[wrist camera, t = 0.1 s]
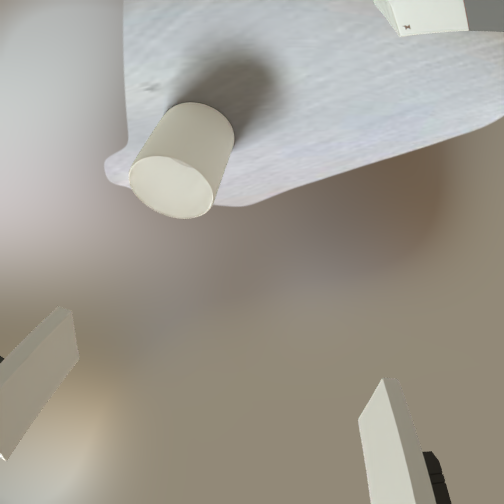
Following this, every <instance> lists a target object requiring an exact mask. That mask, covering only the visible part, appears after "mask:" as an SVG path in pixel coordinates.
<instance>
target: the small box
mask: <svg viewBox="0 0 504 504" xmlns="http://www.w3.org/2000/svg"><path fill="white" fill-rule="evenodd" d="M373 1H374V4H375V5H376V7H377V8H378V9H379V10H380V11H381V13H382V14H383V15H384V16H385V18H386V19H387V21H388V22H389V23H390V25H391V26H392V27H393V29H394V30H395V31H396V33H397V34H398V35H399V37H404V36H410V35H418V34H427V33H438V32H451V31H469V24H468V18H467V13H466V8H465V3H464V0H373Z"/></svg>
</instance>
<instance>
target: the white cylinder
mask: <svg viewBox="0 0 504 504" xmlns="http://www.w3.org/2000/svg"><path fill="white" fill-rule="evenodd" d="M233 145H234V131H233V129H232V126H231V124H230V123H229V121H228V120H227V119H226V118H225V117H224V116H223V115H222V114H221V113H220V112H219V111H217V110H216V109H214V108H212V107H210V106H208V105H205V104H201V103H194V102H187V103H181V104H178V105H175V106H174V107H172V108H170V109H169V110H168V111H167V112H166V113H165V114H164V116H163V117H162V119H161V120H160V122H159V123H158V124H157V126H156V128H155V129H154V131H153V132H152V134H151V135H150V137H149V138H148V140H147V141H146V143H145V145H144V146H143V148H142V149H141V151H140V153H139V154H138V156H137V157H136V159H135V161H134V162H133V164H132V166H131V168H130V171H129V182H130V186H131V188H132V190H133V192H134V193H135V195H136V196H137V197H138V198H139V199H140V200H141V201H142V202H143V203H144V204H145V205H147V206H148V207H149V208H151V209H153V210H154V211H156V212H158V213H161V214H163V215H166V216H170V217H174V218H187V219H188V218H194V217H198V216H200V215H203V214H204V213H206V212H207V211H208V210H209V209H210V208H211V207H212V205H213V203H214V200H215V197H216V194H217V191H218V188H219V185H220V182H221V180H222V177H223V174H224V171H225V168H226V165H227V162H228V160H229V157H230V154H231V151H232V148H233Z"/></svg>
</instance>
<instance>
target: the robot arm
mask: <svg viewBox="0 0 504 504" xmlns="http://www.w3.org/2000/svg"><path fill="white" fill-rule="evenodd" d="M78 360H79V354H78V348H77V342H76V336H75V329H74V323H73V315H72V311H70V310H68V309H65V308H62V307H59V306H58V307H57V308H56V309H55V310H54V311H53V312H52V313H51V314H49V315H48V316H47V317H46V318H45V319H44V320H43V321H42V322H41V323H40V324H39V325H38V326H37V327H36V328H35V329H34V330H33V331H32V332H31V333H30V334H29V335H28V336H27V337H26V338H25V339H24V340H23V341H22V342H21V343H20V344H19V345H18V346H17V347H16V348H15V349H14V350H13V351H12V352H11V353H10V354H9V355H8V356H7V357H6V358H5V359H4V358H2V357H1V356H0V457H1V458H2V459H4V460H5V461H7V460H8V458H9V457H10V455H11V454H12V452H13V451H14V449H15V448H16V446H17V445H18V443H19V442H20V440H21V439H22V437H23V436H24V434H25V433H26V431H27V430H28V429H29V427H30V426H31V424H32V423H33V421H34V420H35V418H36V417H37V416H38V414H39V413H40V411H41V410H42V409H43V407H44V406H45V404H46V403H47V402H48V400H49V399H50V398H51V396H52V395H53V393H54V392H55V391H56V389H57V388H58V387H59V385H60V384H61V383H62V381H63V380H64V379H65V377H66V376H67V374H68V373H69V372H70V370H71V369H72V368H73V367H74V365H75V364H76V362H77V361H78ZM358 423H359V429H360V434H361V441H362V447H363V453H364V459H365V465H366V472H367V479H368V486H369V493H370V501H371V504H451V501H450V497H449V493H448V490H447V486H446V484H445V479H444V476H443V475H442V469H441V466H440V463H439V461H438V459H437V458H436V457H435V455H434V454H433V453H432V451H431V452H422V450H421V446H420V443H419V440H418V436H417V433H416V430H415V427H414V424H413V421H412V418H411V415H410V412H409V409H408V406H407V403H406V400H405V397H404V394H403V391H402V388H401V386H400V383H399V380H398V379H391V378H382V380H381V381H380V383H379V385H378V387H377V388H376V390H375V392H374V394H373V395H372V397H371V399H370V400H369V402H368V404H367V406H366V407H365V409H364V411H363V412H362V414H361V415H360V417H359V419H358Z"/></svg>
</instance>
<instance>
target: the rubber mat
mask: <svg viewBox="0 0 504 504" xmlns="http://www.w3.org/2000/svg"><path fill="white" fill-rule="evenodd" d="M464 3H465V8H466V13H467V18H468V24H469V31H497V32H504V0H464Z"/></svg>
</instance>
